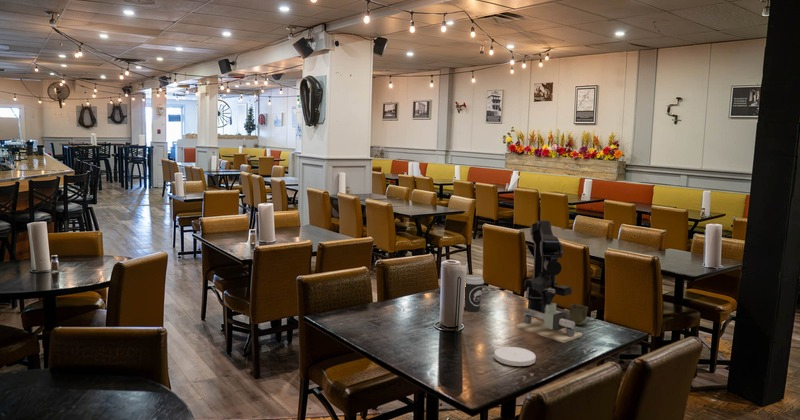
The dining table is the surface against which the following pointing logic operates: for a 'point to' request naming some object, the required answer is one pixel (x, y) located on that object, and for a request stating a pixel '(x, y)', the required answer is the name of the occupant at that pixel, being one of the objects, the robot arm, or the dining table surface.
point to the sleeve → (550, 315)
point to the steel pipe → (540, 315)
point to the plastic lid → (514, 356)
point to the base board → (547, 331)
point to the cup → (578, 313)
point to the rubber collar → (556, 321)
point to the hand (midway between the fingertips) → (546, 307)
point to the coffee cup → (473, 293)
